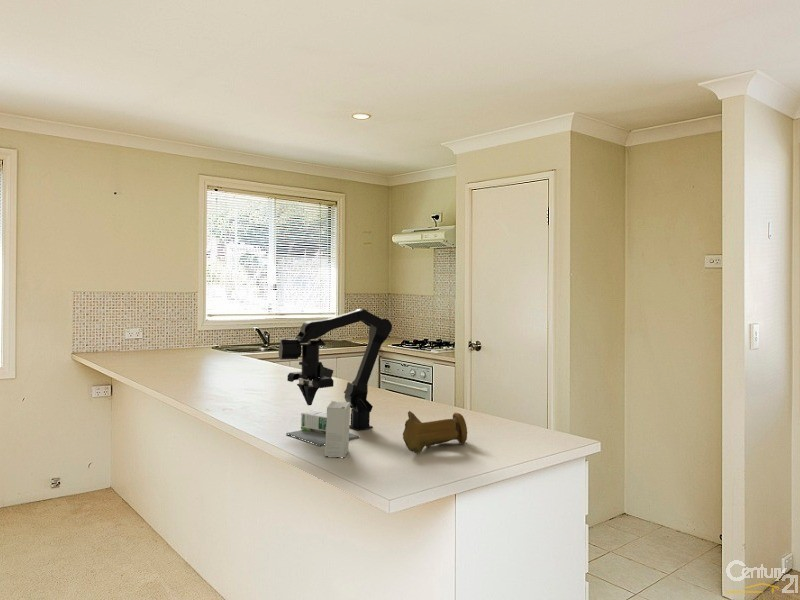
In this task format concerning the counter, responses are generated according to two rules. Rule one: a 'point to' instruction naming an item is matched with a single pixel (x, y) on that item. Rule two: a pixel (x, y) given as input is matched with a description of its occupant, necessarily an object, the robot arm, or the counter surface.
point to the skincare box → (337, 429)
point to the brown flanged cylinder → (433, 432)
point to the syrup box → (314, 421)
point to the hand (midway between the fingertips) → (309, 405)
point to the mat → (315, 436)
